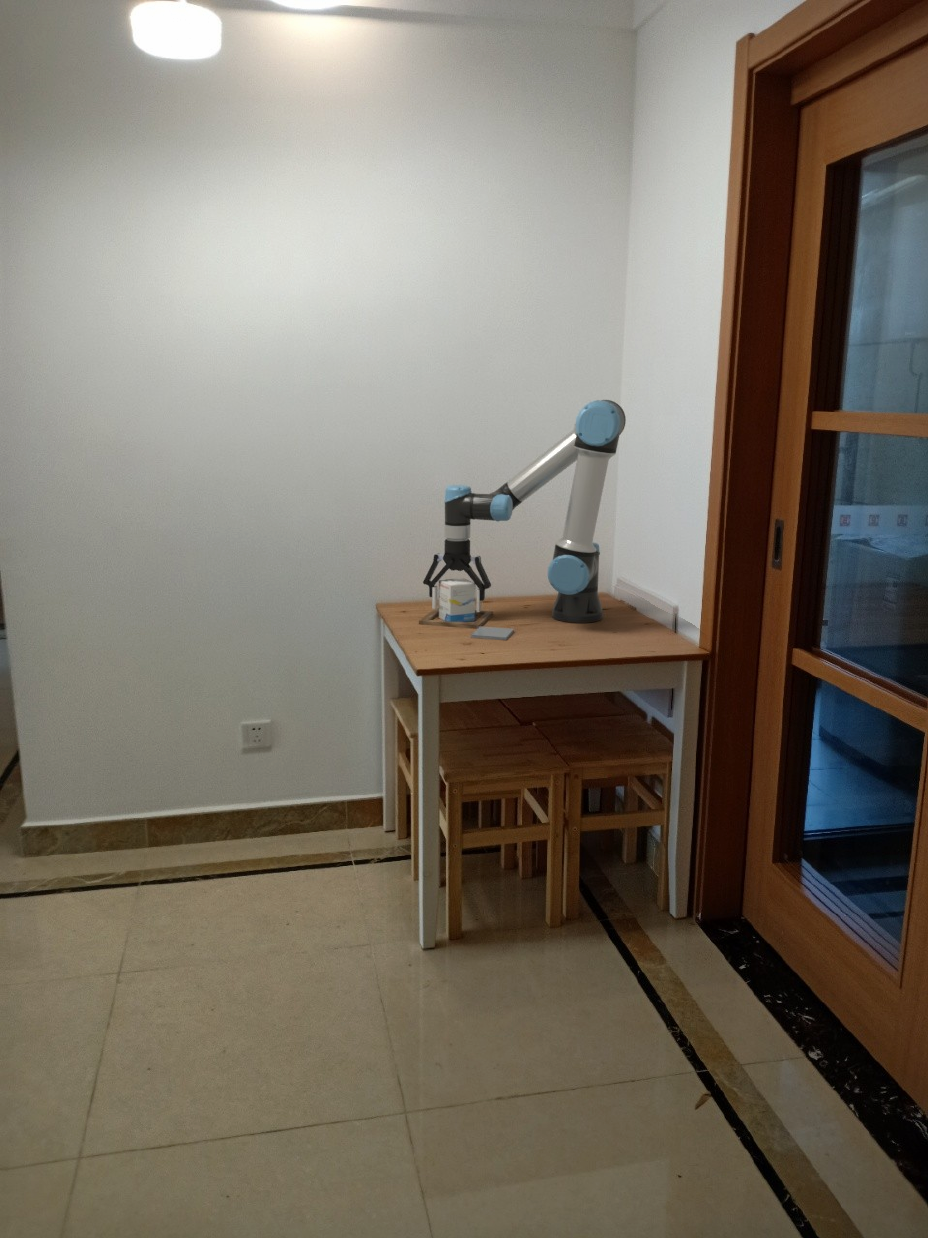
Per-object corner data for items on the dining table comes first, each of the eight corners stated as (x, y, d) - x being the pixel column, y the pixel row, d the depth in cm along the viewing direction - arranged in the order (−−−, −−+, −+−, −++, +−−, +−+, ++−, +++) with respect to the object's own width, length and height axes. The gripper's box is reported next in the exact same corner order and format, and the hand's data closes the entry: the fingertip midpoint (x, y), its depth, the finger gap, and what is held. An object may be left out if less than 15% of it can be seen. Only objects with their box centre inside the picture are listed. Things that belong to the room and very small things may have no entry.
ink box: (476, 621, 300) (476, 582, 297) (450, 624, 296) (450, 584, 293) (463, 615, 307) (463, 577, 305) (438, 617, 304) (438, 579, 301)
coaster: (514, 631, 288) (514, 628, 288) (506, 640, 278) (506, 637, 278) (479, 629, 290) (479, 626, 290) (470, 637, 281) (470, 634, 281)
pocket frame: (493, 614, 308) (493, 611, 308) (478, 628, 291) (478, 625, 291) (436, 610, 312) (436, 607, 312) (418, 624, 296) (418, 620, 295)
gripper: (501, 539, 296) (500, 609, 301) (420, 534, 303) (420, 604, 308) (495, 543, 289) (494, 615, 294) (412, 538, 296) (412, 609, 301)
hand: (456, 609), depth 301 cm, fingers open, 13 cm apart
